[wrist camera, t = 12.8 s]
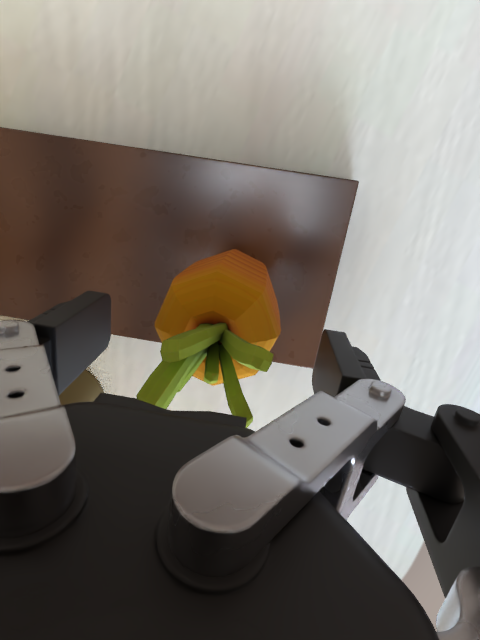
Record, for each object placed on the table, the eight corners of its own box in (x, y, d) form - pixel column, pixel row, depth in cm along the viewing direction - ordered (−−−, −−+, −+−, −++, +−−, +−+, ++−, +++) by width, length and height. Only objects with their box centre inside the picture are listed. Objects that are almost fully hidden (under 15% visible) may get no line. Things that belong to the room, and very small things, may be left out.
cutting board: (5, 304, 29) (-14, 313, 27) (-12, 126, 24) (-37, 121, 22) (311, 356, 28) (313, 369, 26) (352, 181, 23) (359, 181, 21)
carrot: (283, 232, 23) (292, 314, 9) (276, 308, 24) (273, 477, 10) (204, 226, 23) (90, 296, 9) (202, 302, 25) (105, 457, 11)
